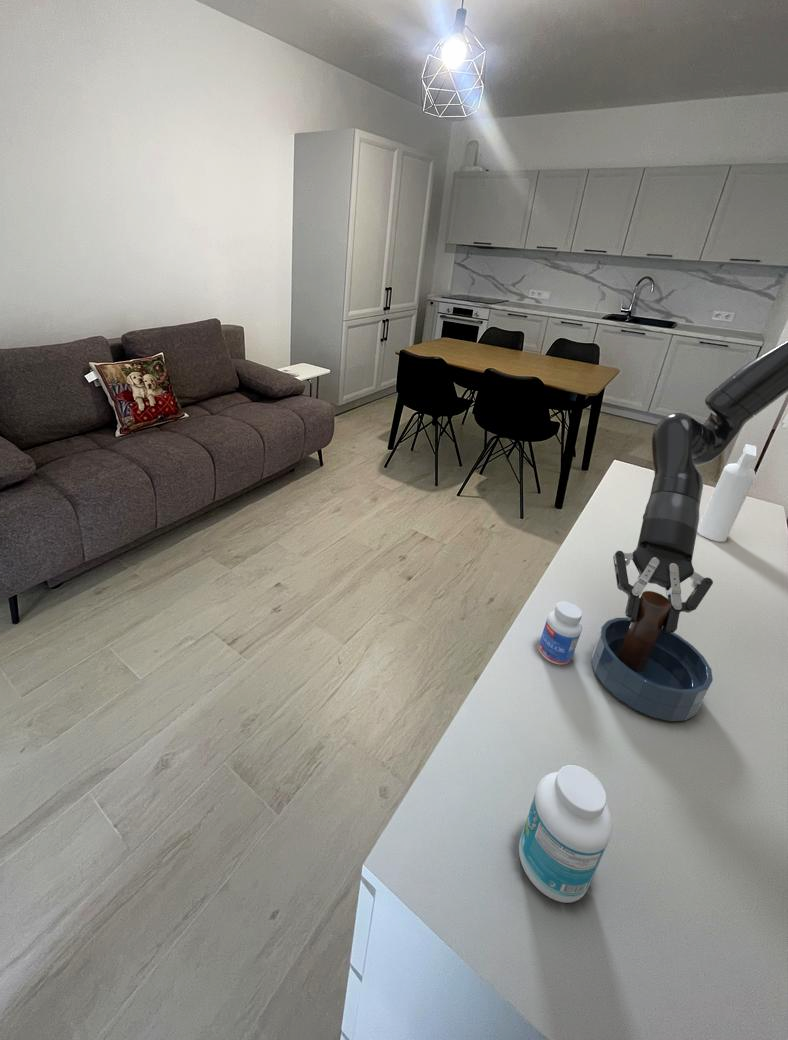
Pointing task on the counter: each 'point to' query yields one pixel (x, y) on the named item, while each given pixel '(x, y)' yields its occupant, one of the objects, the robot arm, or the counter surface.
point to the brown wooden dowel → (644, 631)
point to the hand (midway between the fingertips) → (649, 627)
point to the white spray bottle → (728, 497)
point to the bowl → (653, 674)
